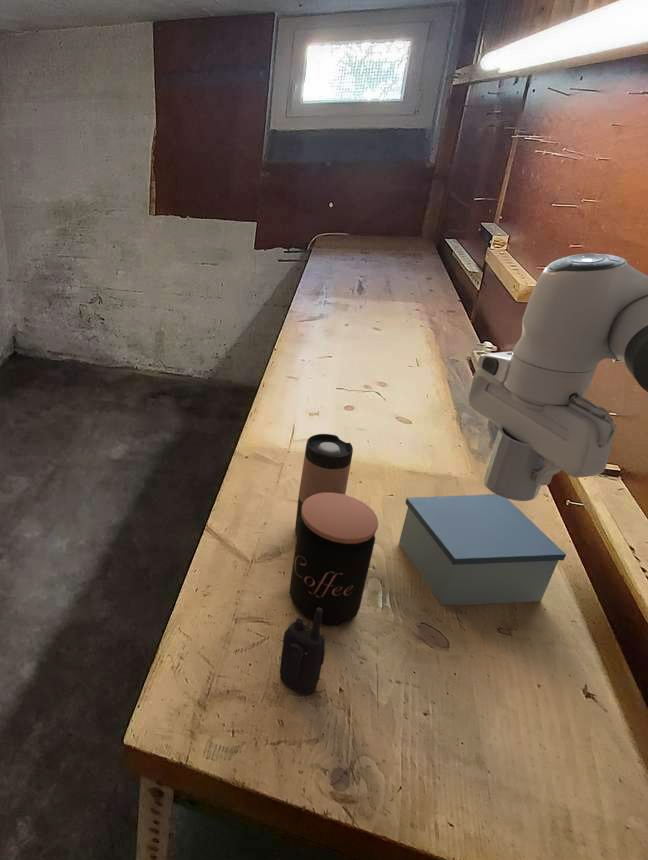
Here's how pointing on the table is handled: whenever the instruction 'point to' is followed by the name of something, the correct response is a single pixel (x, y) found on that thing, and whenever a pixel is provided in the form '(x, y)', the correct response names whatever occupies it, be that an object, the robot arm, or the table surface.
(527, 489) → the grey cup
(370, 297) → the table surface
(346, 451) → the travel mug
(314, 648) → the two-way radio
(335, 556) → the coffee jar
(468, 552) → the storage container
